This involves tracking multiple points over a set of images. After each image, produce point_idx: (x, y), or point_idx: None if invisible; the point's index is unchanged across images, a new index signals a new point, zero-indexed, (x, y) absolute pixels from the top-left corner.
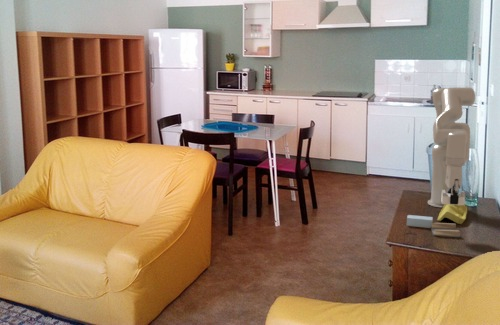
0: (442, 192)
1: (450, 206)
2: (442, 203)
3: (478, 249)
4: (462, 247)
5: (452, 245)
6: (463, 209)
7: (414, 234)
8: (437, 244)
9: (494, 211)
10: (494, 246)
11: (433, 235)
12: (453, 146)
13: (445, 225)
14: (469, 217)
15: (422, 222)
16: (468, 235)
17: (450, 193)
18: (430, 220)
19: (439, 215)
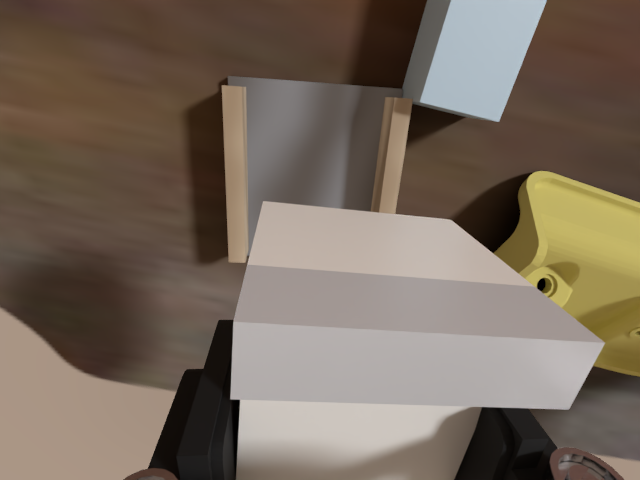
0: (359, 316)
1: None
2: (262, 209)
3: (51, 306)
4: (50, 229)
5: (65, 175)
6: (635, 353)
7: None
8: (46, 68)
9: (614, 454)
10: (129, 380)
11: (233, 76)
12: None
13: (377, 196)
14: None
15: (436, 13)
16: None
17: (473, 432)
18: (423, 84)
19: (614, 200)
